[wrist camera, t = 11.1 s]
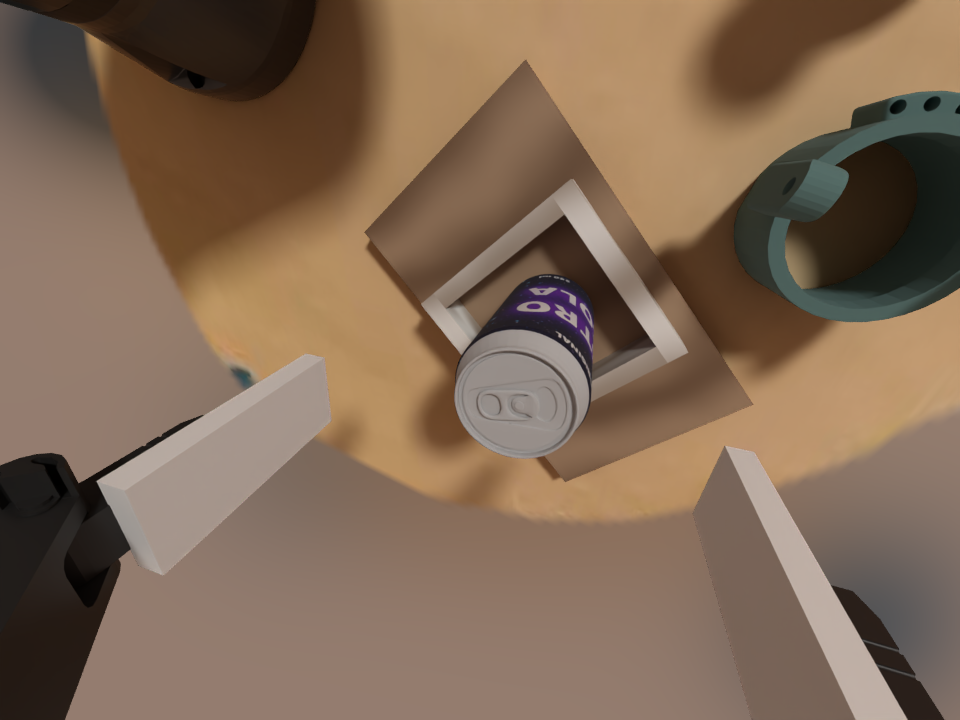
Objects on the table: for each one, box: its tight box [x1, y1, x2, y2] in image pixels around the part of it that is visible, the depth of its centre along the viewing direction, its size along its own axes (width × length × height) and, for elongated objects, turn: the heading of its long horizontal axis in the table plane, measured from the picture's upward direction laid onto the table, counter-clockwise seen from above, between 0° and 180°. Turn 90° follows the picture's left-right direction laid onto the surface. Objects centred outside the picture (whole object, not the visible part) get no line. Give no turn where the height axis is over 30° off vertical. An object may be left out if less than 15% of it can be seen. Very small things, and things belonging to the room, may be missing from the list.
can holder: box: [365, 60, 753, 482], centre depth 25 cm, size 24×14×4 cm, turn 39°
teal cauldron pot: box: [734, 91, 960, 322], centre depth 17 cm, size 9×9×9 cm
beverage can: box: [454, 274, 594, 459], centre depth 20 cm, size 6×6×12 cm
